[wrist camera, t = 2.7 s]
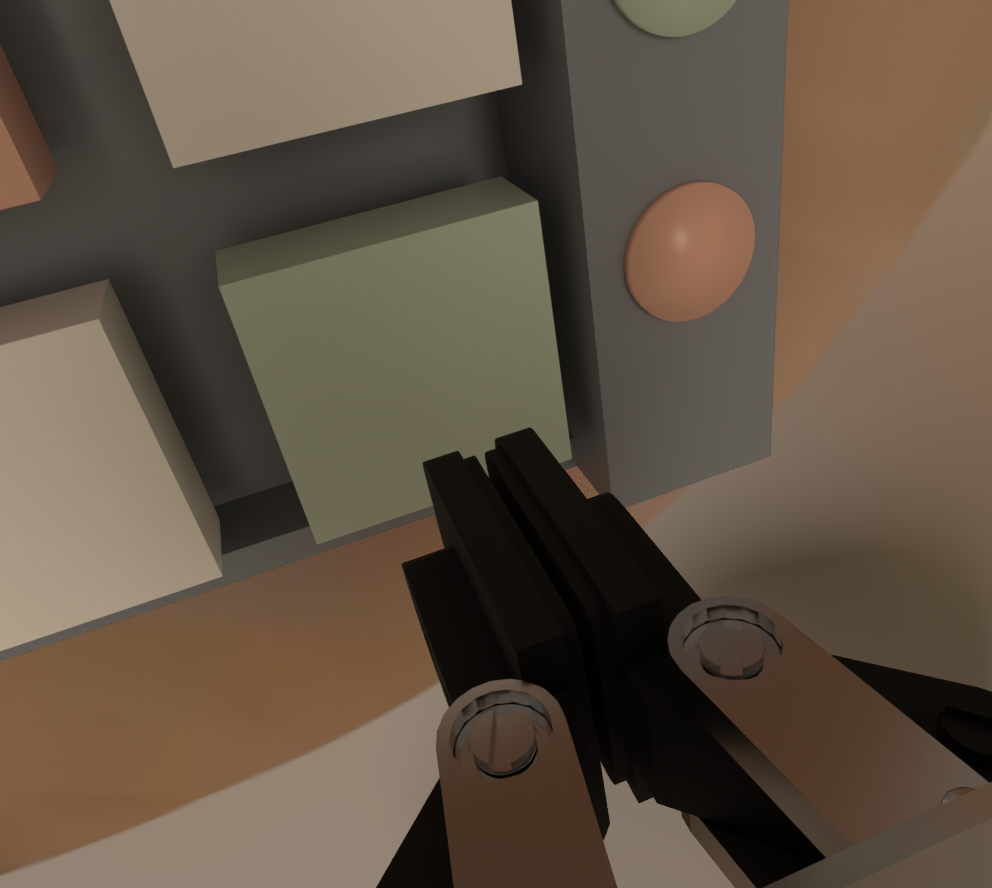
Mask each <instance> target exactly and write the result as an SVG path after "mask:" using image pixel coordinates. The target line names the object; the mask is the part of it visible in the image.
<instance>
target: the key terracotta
mask: <svg viewBox="0 0 992 888" xmlns="http://www.w3.org/2000/svg"><path fill="white" fill-rule="evenodd" d="M58 173H59V170H58V168H57V166H56V164H55V161H54V159H53V157H52V155H51V153H50V151H49V148H48V146H47V144H46V142H45V140H44V138H43V135H42V133H41V131H40V129H39V127H38V125H37V122H36V120H35V118H34V116H33V114H32V112H31V109H30V107H29V105H28V103H27V101H26V98H25V96H24V94H23V92H22V90H21V88H20V85H19V83H18V81H17V79H16V77H15V75H14V72H13V70H12V68H11V66H10V64H9V62H8V59H7V57H6V55H5V53H4V51H3V49H2V46H1V44H0V210H2V209H6V208H11V207H15V206H19V205H23V204H27V203H31V202H36V201H40V200H41V199H42V198H43V196H44V195H45V193H46V192H47V190H48V188H49V187H50V185H51V184H52V182H53V181H54V179H55V177H56V176H57V174H58Z"/></svg>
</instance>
